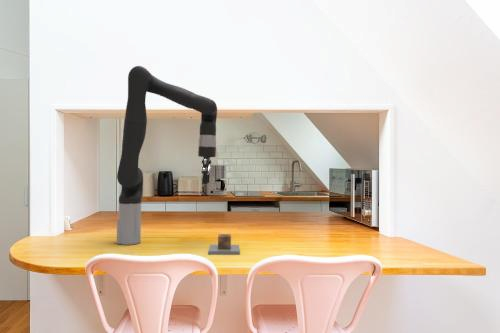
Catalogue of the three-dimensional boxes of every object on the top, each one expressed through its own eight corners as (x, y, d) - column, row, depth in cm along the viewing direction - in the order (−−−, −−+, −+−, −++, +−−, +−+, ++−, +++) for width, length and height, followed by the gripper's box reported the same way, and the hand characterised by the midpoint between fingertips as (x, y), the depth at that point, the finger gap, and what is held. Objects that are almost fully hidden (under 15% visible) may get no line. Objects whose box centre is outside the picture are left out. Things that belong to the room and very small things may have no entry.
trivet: (208, 254, 147) (208, 251, 147) (209, 247, 159) (209, 244, 159) (239, 254, 148) (239, 251, 148) (239, 247, 160) (239, 244, 160)
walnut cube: (217, 249, 151) (218, 236, 151) (218, 246, 156) (218, 234, 156) (230, 249, 151) (230, 236, 151) (230, 246, 156) (230, 234, 156)
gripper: (200, 146, 174) (198, 182, 175) (196, 144, 160) (195, 184, 160) (216, 147, 175) (215, 182, 175) (214, 145, 160) (213, 184, 161)
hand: (205, 183), depth 168 cm, fingers open, 8 cm apart
